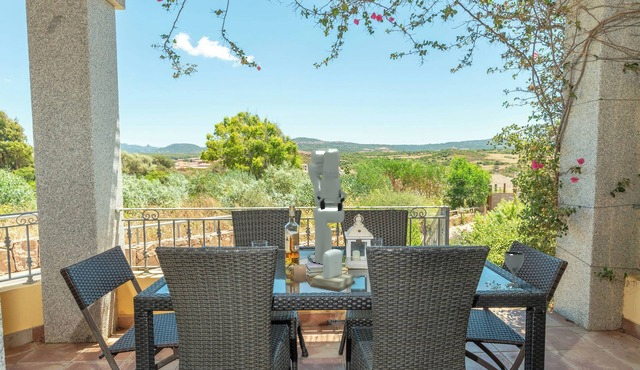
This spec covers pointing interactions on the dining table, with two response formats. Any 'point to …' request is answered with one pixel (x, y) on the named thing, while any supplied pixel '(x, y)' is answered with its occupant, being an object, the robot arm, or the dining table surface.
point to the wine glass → (514, 263)
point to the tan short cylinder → (300, 273)
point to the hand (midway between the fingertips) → (331, 210)
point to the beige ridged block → (333, 282)
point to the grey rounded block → (332, 263)
